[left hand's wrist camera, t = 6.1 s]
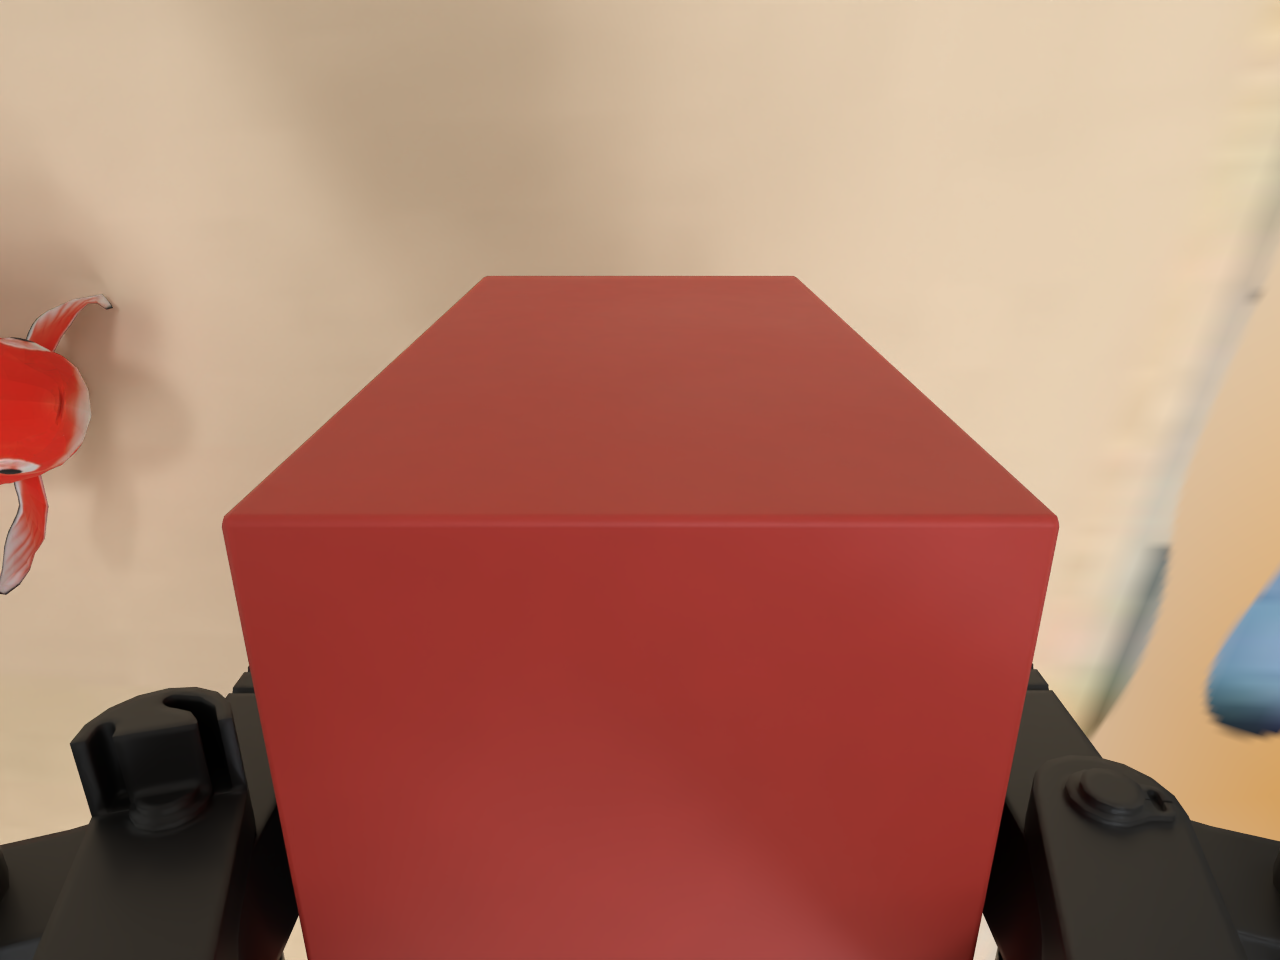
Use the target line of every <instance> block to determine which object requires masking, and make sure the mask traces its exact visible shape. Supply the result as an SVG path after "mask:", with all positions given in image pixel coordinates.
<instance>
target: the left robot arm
mask: <svg viewBox="0 0 1280 960" xmlns="http://www.w3.org/2000/svg"><path fill="white" fill-rule="evenodd" d="M70 746H71V749H72V752H73V756H74V759H75V762H76V766H77V769H78V772H79V776H80V779H81V782H82V785H83V789H84V792H85V795H86V799H87V802H88V805H89V809H90V812H91V815H92V818H91V820H90V823H89V824H88V825H85V826H81V827H78V828H74V829H71V830H67V831H62V832H58V833H53V834H49V835H44V836H40V837H35V838H31V839H26V840H22V841H17V842H13V843H8V844H4V845H0V960H285V958H284V953H283V950H284V948H285V946H286V943H287V941H288V939H289V936H290V934H291V932H292V930H293V927H294V925H295V923H296V920H297V918H298V916H299V913H298V908H297V903H296V898H295V893H294V888H293V883H292V878H291V872H290V867H289V862H288V857H287V852H286V847H285V842H284V837H283V832H282V827H281V822H280V817H279V812H278V807H277V802H276V797H275V792H274V787H273V782H272V777H271V772H270V767H269V762H268V757H267V752H266V747H265V742H264V737H263V731H262V726H261V721H260V716H259V711H258V706H257V701H256V696H255V691H254V686H253V681H252V676H251V671H250V666H249V667H248V672H244V674H243V675H242V676H241V678H240V679H239V680H238V682H237V683H236V684H235V686H234V687H233V693H229V694H228V695H227V697H226V698H224V697H223V696H222V695H221V694H219V693H218V692H216V691H211V690H207V689H202V688H198V687H186V688H168V689H164V690H159V691H155V692H151V693H147V694H143V695H139V696H136V697H134V698H132V699H129V700H127V701H125V702H122V703H120V704H118V705H115V706H113V707H111V708H109V709H107V710H106V711H104V712H103V713H102V714H100V715H99V716H97V717H96V718H94V719H93V720H91V721H90V722H88V723H87V724H86V725H84V727H83V728H82V729H81V730H80V732H79V733H78V734H77V735H76V736H75V738H74V739H73V740H72V741H71V743H70ZM983 915H984V917H985V919H986V921H987V924H988V926H989V928H990V931H991V933H992V935H993V937H994V940H995V942H996V944H997V946H998V948H997V953H996V958H995V960H1280V841H1275V840H1271V839H1266V838H1262V837H1257V836H1253V835H1248V834H1243V833H1239V832H1235V831H1230V830H1226V829H1221V828H1216V827H1212V826H1209V825H1205V824H1202V823H1198V822H1195V821H1191V820H1190V819H1189V816H1188V815H1187V813H1186V812H1185V810H1184V809H1183V808H1182V806H1181V805H1180V803H1179V802H1178V800H1177V799H1176V798H1175V796H1174V795H1173V794H1171V793H1170V792H1169V791H1168V790H1166V789H1165V788H1164V787H1162V786H1161V785H1160V784H1159V783H1157V782H1156V781H1155V780H1154V779H1152V778H1151V777H1149V776H1147V775H1145V774H1143V773H1141V772H1138V771H1137V770H1135V769H1132V768H1130V767H1128V766H1126V765H1124V764H1121V763H1117V762H1114V761H1110V760H1106V759H1103V758H1102V757H1101V755H1100V754H1099V753H1098V751H1097V750H1096V749H1095V747H1094V746H1093V745H1092V743H1091V742H1090V741H1089V739H1088V738H1087V737H1086V735H1085V734H1084V733H1083V731H1082V730H1081V728H1080V727H1079V726H1078V724H1077V723H1076V722H1075V720H1074V719H1073V718H1072V716H1071V715H1070V714H1069V712H1068V711H1067V710H1066V708H1065V707H1064V705H1063V704H1062V703H1061V701H1060V700H1059V699H1058V697H1057V696H1056V695H1055V693H1054V692H1053V691H1052V690H1049V689H1048V684H1047V683H1046V681H1045V680H1044V678H1043V677H1042V676H1041V674H1040V673H1039V672H1038V670H1037V669H1033V664H1032V666H1031V671H1030V676H1029V681H1028V686H1027V691H1026V696H1025V701H1024V706H1023V711H1022V716H1021V721H1020V726H1019V731H1018V737H1017V742H1016V747H1015V752H1014V757H1013V762H1012V767H1011V772H1010V777H1009V782H1008V787H1007V792H1006V797H1005V802H1004V807H1003V812H1002V817H1001V822H1000V827H999V832H998V837H997V842H996V847H995V852H994V857H993V862H992V867H991V872H990V877H989V882H988V887H987V892H986V897H985V902H984V907H983Z"/></svg>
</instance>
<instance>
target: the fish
mask: <svg viewBox="0 0 1280 960" xmlns="http://www.w3.org/2000/svg"><path fill="white" fill-rule="evenodd" d="M90 303H98V304H99V305H101V306H102V307H104V308H105V309H111V308H113V307H112V305H111V304H110V303H109V301H108V300H107V299H106V298H105V296H104V295H103V294H101V295H95V296H90V297H85V298H79V299H73V300H70V301H68V302H66V303H64V304H62V305H59V306H57V307H55V308H53V309H51V310H49V311H47V312H45V313H44V314H42V315H41V316H40V317H38V318H37V319H36V320H35V322H34V323H33V324H32V326H31V328H30V330H29V332H28V335H27V338H26V339H21V338H13V337H10V338H3V339H2V338H0V485H1V484H4V483H13V482H14V485H15V489H16V492H17V495H18V500H19V508H18V512H17V515H16V517H15V519H14V521H13V523H12V525H11V527H10V529H9V531H8V535H7V538H6V542H5V546H4V556H3V566H2V572H1V575H0V594H5V595H6V594H8V593H9V592H10V591H12V590H13V589H14V588H16V587H17V586H18V585H20V583H21V582H22V580H23V579H24V577H25V576H26V575H27V573H28V572H29V570H30V568H31V564H32V561H33V558H34V555H35V552H36V551H37V550H38V548H39V547H40V545H41V544H42V542H43V540H44V539H45V531H46V522H47V513H48V503H47V499H46V494H45V490H44V486H43V482H42V478H41V474H43V473H45V472H47V471H48V470H50V469H53V468H55V467H57V466H60V465H62V464H63V463H64V462H65V461H66V460H67V459H68V458H70V457H71V456H72V455H73V454H74V453H75V452H76V451H77V450H78V448H79V447H80V446H81V444H82V442H83V441H84V438H85V435H86V431H87V428H88V425H89V422H90V419H91V408H90V399H89V390H88V388H87V386H86V384H85V382H84V380H83V378H82V376H81V374H80V372H79V370H78V368H77V367H76V366H74V365H73V364H72V363H71V362H69V361H68V360H67V359H66V358H64V357H63V356H61V355H59V354H57V353H55V352H54V351H55V349H56V347H57V345H58V343H59V341H60V339H61V337H62V335H63V334H64V333H65V331H66V330H67V329H68V328H69V326H70V325H71V323H72V322H73V320H74V319H75V317H76V316H77V314H78V312H79V311H81V310H82V309H83V308H84V307H85V306H86V305H87V304H90Z"/></svg>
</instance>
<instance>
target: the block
mask: <svg viewBox="0 0 1280 960" xmlns="http://www.w3.org/2000/svg"><path fill="white" fill-rule="evenodd" d="M222 530H223V535H224V540H225V545H226V550H227V555H228V560H229V565H230V570H231V575H232V580H233V585H234V590H235V596H236V601H237V606H238V611H239V616H240V621H241V626H242V631H243V636H244V641H245V646H246V651H247V656H248V661H249V666H250V671H251V676H252V681H253V686H254V691H255V696H256V701H257V706H258V711H259V716H260V721H261V726H262V731H263V737H264V742H265V747H266V752H267V757H268V762H269V767H270V772H271V777H272V782H273V787H274V792H275V797H276V802H277V807H278V812H279V817H280V822H281V827H282V832H283V837H284V842H285V847H286V852H287V857H288V862H289V867H290V872H291V878H292V883H293V888H294V893H295V898H296V903H297V908H298V913H299V918H300V923H301V928H302V933H303V938H304V943H305V948H306V953H307V958H308V960H973V957H974V952H975V947H976V942H977V937H978V932H979V927H980V922H981V917H982V912H983V907H984V902H985V897H986V892H987V887H988V882H989V877H990V872H991V867H992V862H993V857H994V852H995V847H996V842H997V837H998V832H999V827H1000V822H1001V817H1002V812H1003V807H1004V802H1005V797H1006V792H1007V787H1008V782H1009V777H1010V772H1011V767H1012V762H1013V757H1014V752H1015V747H1016V742H1017V737H1018V731H1019V726H1020V721H1021V716H1022V711H1023V706H1024V701H1025V696H1026V691H1027V686H1028V681H1029V676H1030V671H1031V666H1032V661H1033V656H1034V651H1035V646H1036V641H1037V636H1038V631H1039V626H1040V621H1041V616H1042V611H1043V606H1044V601H1045V596H1046V591H1047V586H1048V581H1049V576H1050V571H1051V566H1052V561H1053V556H1054V551H1055V546H1056V541H1057V536H1058V531H1059V522H1058V518H1057V516H1056V515H1055V514H1054V513H1053V512H1052V511H1050V510H1049V509H1048V508H1047V507H1046V506H1045V505H1044V504H1043V503H1042V502H1041V501H1040V500H1038V499H1037V498H1036V497H1035V496H1034V495H1033V494H1032V493H1031V492H1030V491H1029V490H1028V489H1026V488H1025V487H1024V486H1023V485H1022V484H1021V483H1020V482H1019V481H1018V480H1017V479H1016V478H1014V477H1013V476H1012V475H1011V474H1010V473H1009V472H1008V471H1007V470H1006V469H1005V468H1004V467H1003V466H1001V465H1000V464H999V463H998V462H997V461H996V460H995V459H994V458H993V457H992V456H991V455H989V454H988V453H987V452H986V451H985V450H984V449H983V448H982V447H981V446H980V445H979V444H977V443H976V442H975V441H974V440H973V439H972V438H971V437H970V436H969V435H968V434H967V433H965V432H964V431H963V430H962V429H961V428H960V427H959V426H958V425H957V424H956V423H955V422H953V421H952V420H951V419H950V418H949V417H948V416H947V415H946V414H945V413H944V412H943V411H941V410H940V409H939V408H938V407H937V406H936V405H935V404H934V403H933V402H932V401H931V400H929V399H928V398H927V397H926V396H925V395H924V394H923V393H922V392H921V391H920V390H919V389H917V388H916V387H915V386H914V385H913V384H912V383H911V382H910V381H909V380H908V379H907V378H905V377H904V376H903V375H902V374H901V373H900V372H899V371H898V370H897V369H896V368H895V367H894V366H892V365H891V364H890V363H889V362H888V361H887V360H886V359H885V358H884V357H883V356H882V355H880V354H879V353H878V352H877V351H876V350H875V349H874V348H873V347H872V346H871V345H870V344H868V343H867V342H866V341H865V340H864V339H863V338H862V337H861V336H860V335H859V334H858V333H856V332H855V331H854V330H853V329H852V328H851V327H850V326H849V325H848V324H847V323H846V322H844V321H843V320H842V319H841V318H840V317H839V316H838V315H837V314H836V313H835V312H834V311H832V310H831V309H830V308H829V307H828V306H827V305H826V304H825V303H824V302H823V301H822V300H820V299H819V298H818V297H817V296H816V295H815V294H814V293H813V292H812V291H811V290H810V289H808V288H807V287H806V286H805V285H804V284H803V283H802V282H801V281H800V280H799V279H798V278H796V277H794V276H486V277H484V278H483V279H482V280H481V281H480V282H479V283H477V284H476V285H475V286H474V287H473V288H472V289H471V290H470V291H469V292H468V293H467V294H465V295H464V296H463V297H462V298H461V299H460V300H459V301H458V302H457V303H456V304H455V305H453V306H452V307H451V308H450V309H449V310H448V311H447V312H446V313H445V314H444V315H443V316H442V317H440V318H439V319H438V320H437V321H436V322H435V323H434V324H433V325H432V326H431V327H430V328H428V329H427V330H426V331H425V332H424V333H423V334H422V335H421V336H420V337H419V338H418V339H417V340H415V341H414V342H413V343H412V344H411V345H410V346H409V347H408V348H407V349H406V350H405V351H403V352H402V353H401V354H400V355H399V356H398V357H397V358H396V359H395V360H394V361H393V362H392V363H390V364H389V365H388V366H387V367H386V368H385V369H384V370H383V371H382V372H381V373H380V374H378V375H377V376H376V377H375V378H374V379H373V380H372V381H371V382H370V383H369V384H368V385H367V386H365V387H364V388H363V389H362V390H361V391H360V392H359V393H358V394H357V395H356V396H355V397H353V398H352V399H351V400H350V401H349V402H348V403H347V404H346V405H345V406H344V407H343V408H342V409H340V410H339V411H338V412H337V413H336V414H335V415H334V416H333V417H332V418H331V419H330V420H328V421H327V422H326V423H325V424H324V425H323V426H322V427H321V428H320V429H319V430H318V431H316V432H315V433H314V434H313V435H312V436H311V437H310V438H309V439H308V440H307V441H306V442H305V443H303V444H302V445H301V446H300V447H299V448H298V449H297V450H296V451H295V452H294V453H293V454H291V455H290V456H289V457H288V458H287V459H286V460H285V461H284V462H283V463H282V464H281V465H280V466H278V467H277V468H276V469H275V470H274V471H273V472H272V473H271V474H270V475H269V476H268V477H266V478H265V479H264V480H263V481H262V482H261V483H260V484H259V485H258V486H257V487H256V488H255V489H253V490H252V491H251V492H250V493H249V494H248V495H247V496H246V497H245V498H244V499H243V500H241V501H240V502H239V503H238V504H237V505H236V506H235V507H234V508H233V509H232V510H231V511H230V512H228V513H227V514H226V515H225V516H224V519H223V523H222Z"/></svg>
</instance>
